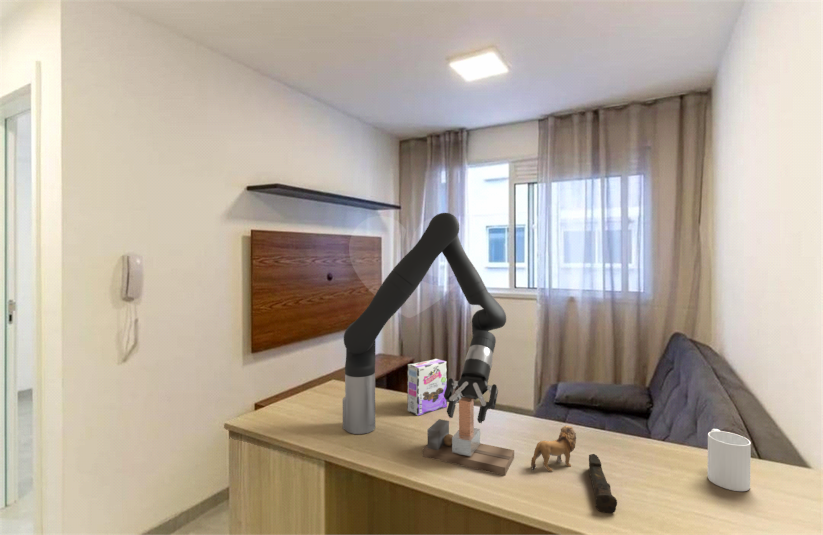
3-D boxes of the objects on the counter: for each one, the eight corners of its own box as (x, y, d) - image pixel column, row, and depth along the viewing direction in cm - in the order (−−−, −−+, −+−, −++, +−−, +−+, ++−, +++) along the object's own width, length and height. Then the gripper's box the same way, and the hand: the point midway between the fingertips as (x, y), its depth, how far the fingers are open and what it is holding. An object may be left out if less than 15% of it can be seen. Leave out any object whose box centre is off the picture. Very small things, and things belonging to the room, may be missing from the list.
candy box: (417, 416, 136) (417, 367, 136) (406, 411, 141) (406, 363, 140) (447, 406, 145) (447, 360, 144) (436, 402, 149) (436, 357, 149)
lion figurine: (565, 454, 109) (565, 421, 109) (581, 463, 104) (582, 428, 104) (524, 468, 102) (524, 432, 102) (540, 478, 97) (540, 441, 97)
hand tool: (617, 516, 83) (617, 493, 83) (595, 512, 84) (596, 490, 84) (604, 471, 101) (604, 452, 101) (586, 468, 102) (586, 450, 102)
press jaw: (452, 452, 106) (452, 402, 105) (462, 440, 113) (462, 393, 113) (470, 456, 103) (470, 405, 103) (480, 443, 111) (480, 396, 110)
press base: (422, 456, 108) (422, 430, 108) (437, 441, 117) (437, 417, 117) (505, 475, 99) (505, 447, 98) (514, 457, 107) (514, 431, 107)
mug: (757, 494, 90) (758, 447, 90) (715, 489, 92) (716, 443, 92) (731, 467, 102) (732, 425, 102) (695, 463, 104) (695, 422, 104)
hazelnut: (441, 446, 110) (441, 435, 110) (446, 442, 112) (446, 431, 112) (452, 448, 108) (452, 437, 108) (456, 444, 111) (456, 433, 111)
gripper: (451, 355, 118) (435, 408, 107) (500, 360, 111) (488, 417, 101) (457, 368, 122) (443, 420, 112) (505, 374, 116) (494, 430, 106)
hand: (464, 419), depth 107 cm, fingers open, 7 cm apart
